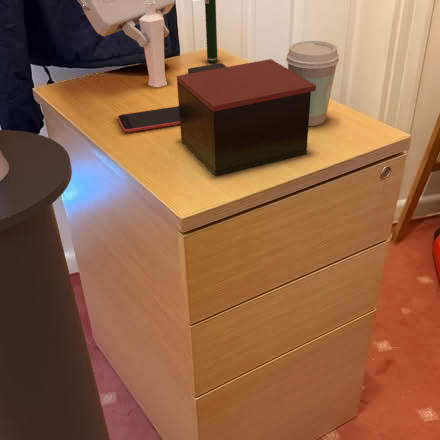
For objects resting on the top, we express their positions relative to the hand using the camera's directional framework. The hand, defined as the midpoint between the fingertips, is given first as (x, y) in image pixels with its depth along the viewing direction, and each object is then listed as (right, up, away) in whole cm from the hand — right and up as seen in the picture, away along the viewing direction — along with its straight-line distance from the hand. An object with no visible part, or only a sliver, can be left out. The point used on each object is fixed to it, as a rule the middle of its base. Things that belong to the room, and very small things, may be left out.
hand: (156, 40), depth 110 cm
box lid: (+16, -17, -24) cm, 34 cm away
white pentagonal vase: (0, -6, +6) cm, 9 cm away
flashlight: (+11, +2, +15) cm, 18 cm away
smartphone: (+2, -18, -9) cm, 20 cm away
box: (+16, -25, -18) cm, 35 cm away
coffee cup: (+27, -18, -10) cm, 34 cm away
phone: (+12, -6, +5) cm, 15 cm away
